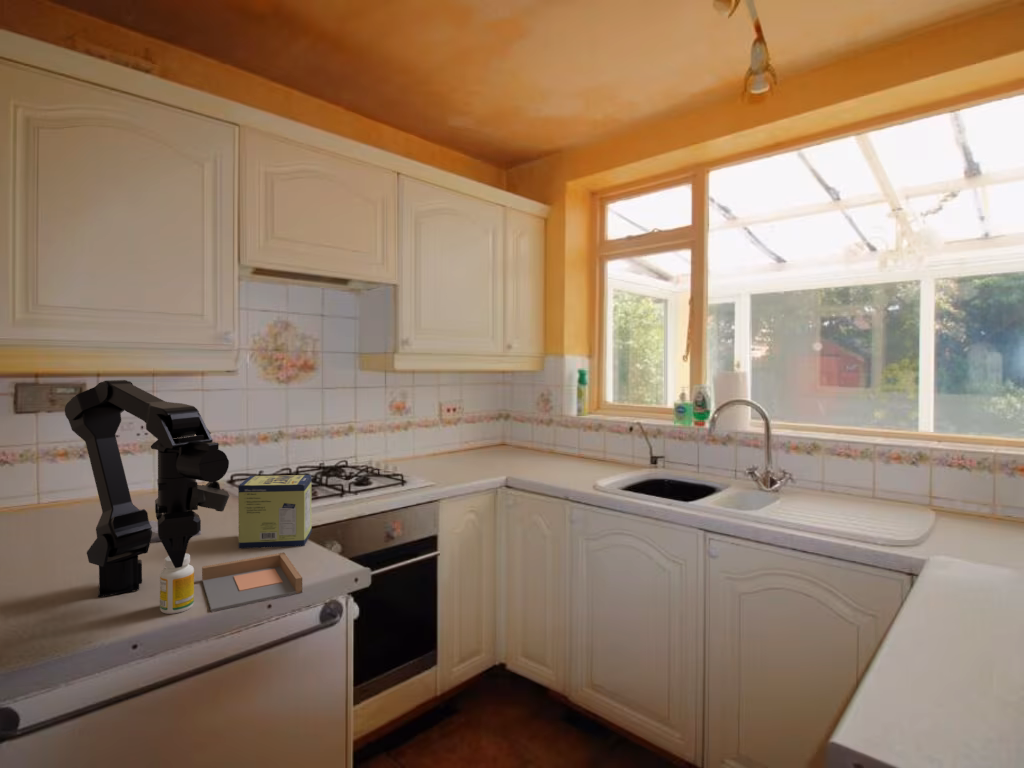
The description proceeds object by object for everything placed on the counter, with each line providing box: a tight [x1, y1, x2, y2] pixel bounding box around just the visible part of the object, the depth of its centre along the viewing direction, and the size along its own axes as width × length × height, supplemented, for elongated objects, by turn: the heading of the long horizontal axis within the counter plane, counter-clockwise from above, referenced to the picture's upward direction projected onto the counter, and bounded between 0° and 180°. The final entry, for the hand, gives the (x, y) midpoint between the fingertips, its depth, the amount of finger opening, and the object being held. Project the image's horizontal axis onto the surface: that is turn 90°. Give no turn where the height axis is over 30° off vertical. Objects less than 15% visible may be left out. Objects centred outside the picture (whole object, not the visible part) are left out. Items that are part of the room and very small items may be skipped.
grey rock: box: [149, 520, 202, 543], centre depth 141 cm, size 12×5×10 cm
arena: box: [201, 552, 303, 613], centre depth 112 cm, size 16×16×3 cm
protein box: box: [237, 474, 313, 549], centre depth 138 cm, size 10×16×16 cm
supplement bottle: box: [159, 553, 195, 615], centre depth 102 cm, size 5×5×10 cm
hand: (176, 558), depth 102 cm, fingers open, 9 cm apart
